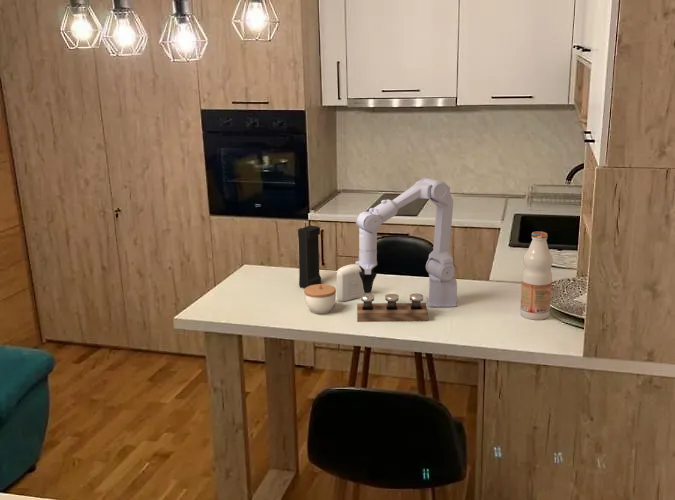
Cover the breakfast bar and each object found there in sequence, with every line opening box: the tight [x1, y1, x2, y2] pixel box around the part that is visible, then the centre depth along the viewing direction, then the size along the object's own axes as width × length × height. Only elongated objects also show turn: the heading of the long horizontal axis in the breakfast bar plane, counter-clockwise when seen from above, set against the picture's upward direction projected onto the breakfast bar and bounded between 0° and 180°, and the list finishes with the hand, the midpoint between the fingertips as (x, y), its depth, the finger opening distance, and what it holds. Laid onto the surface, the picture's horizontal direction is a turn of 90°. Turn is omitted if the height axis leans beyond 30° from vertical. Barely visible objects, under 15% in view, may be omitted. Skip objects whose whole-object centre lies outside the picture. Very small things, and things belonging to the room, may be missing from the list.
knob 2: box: [409, 293, 424, 310], centre depth 239 cm, size 4×4×4 cm
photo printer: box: [336, 263, 365, 302], centre depth 256 cm, size 10×4×12 cm, turn 123°
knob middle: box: [384, 293, 400, 310], centre depth 239 cm, size 4×4×4 cm
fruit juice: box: [519, 231, 554, 321], centre depth 235 cm, size 9×9×28 cm
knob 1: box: [360, 293, 375, 310], centre depth 239 cm, size 4×4×4 cm
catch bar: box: [356, 302, 429, 323], centre depth 240 cm, size 23×9×3 cm, turn 88°
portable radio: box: [298, 222, 322, 289], centre depth 268 cm, size 8×6×25 cm
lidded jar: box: [303, 283, 337, 315], centre depth 246 cm, size 11×11×9 cm
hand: (367, 288), depth 238 cm, fingers open, 7 cm apart
